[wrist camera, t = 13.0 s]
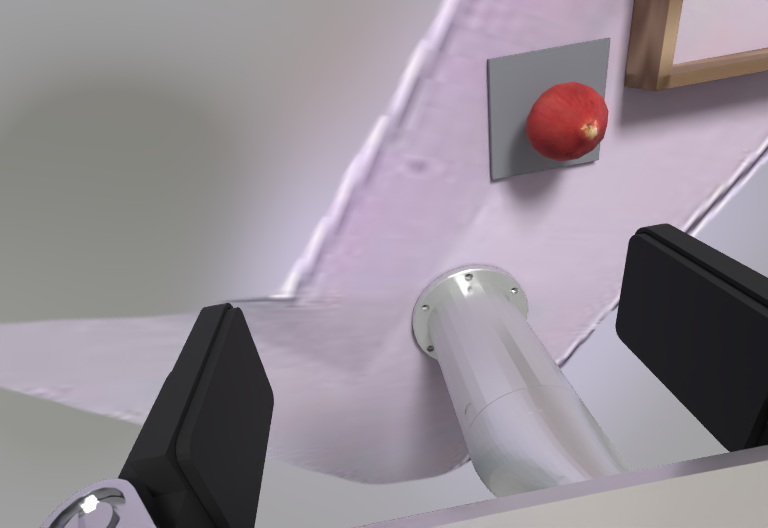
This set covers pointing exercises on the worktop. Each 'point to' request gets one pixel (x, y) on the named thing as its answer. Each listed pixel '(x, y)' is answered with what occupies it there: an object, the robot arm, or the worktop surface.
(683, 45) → the worktop surface
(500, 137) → the mat
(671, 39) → the tan u-shaped frame
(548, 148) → the onion
